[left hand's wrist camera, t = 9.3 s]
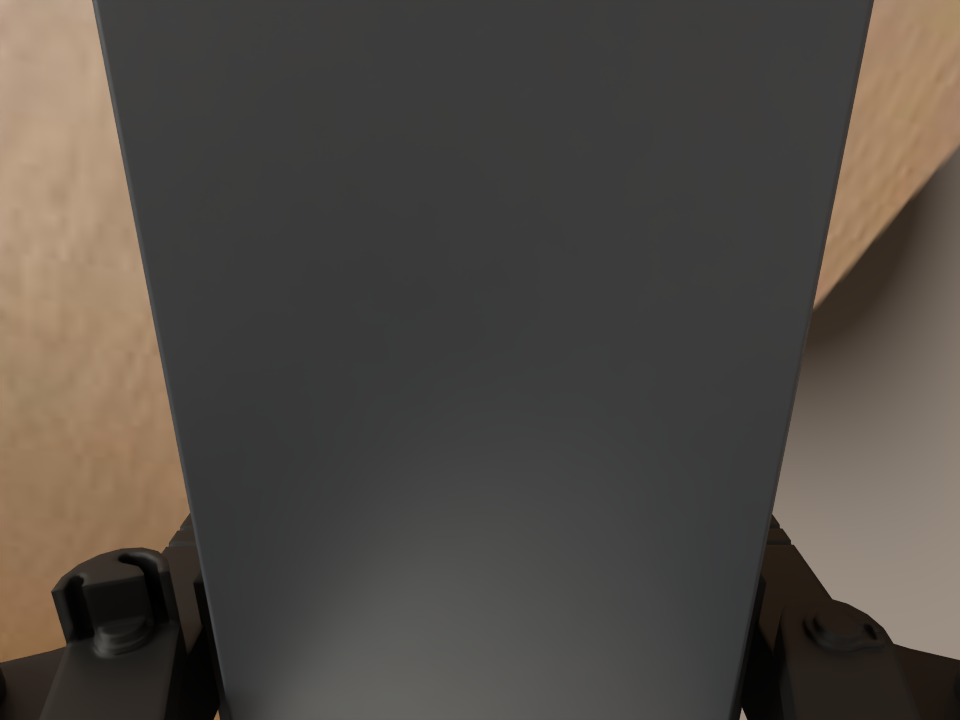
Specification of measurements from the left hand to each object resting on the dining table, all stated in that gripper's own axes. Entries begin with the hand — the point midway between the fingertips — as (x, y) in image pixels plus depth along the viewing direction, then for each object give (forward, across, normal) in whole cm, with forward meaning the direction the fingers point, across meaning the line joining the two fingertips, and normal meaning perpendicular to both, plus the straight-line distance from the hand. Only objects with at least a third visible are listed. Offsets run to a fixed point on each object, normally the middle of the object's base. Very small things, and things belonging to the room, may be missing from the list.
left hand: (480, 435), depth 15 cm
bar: (+1, 0, -11) cm, 11 cm away
